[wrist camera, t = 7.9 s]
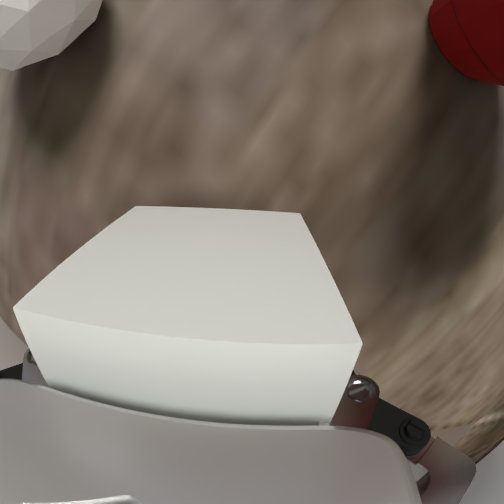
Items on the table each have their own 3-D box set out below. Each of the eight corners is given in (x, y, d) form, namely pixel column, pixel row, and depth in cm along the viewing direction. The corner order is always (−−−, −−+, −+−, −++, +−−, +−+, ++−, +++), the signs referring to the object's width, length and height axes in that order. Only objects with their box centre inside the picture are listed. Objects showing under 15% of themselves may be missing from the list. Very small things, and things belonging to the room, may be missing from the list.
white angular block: (300, 213, 13) (362, 343, 5) (282, 344, 16) (296, 487, 8) (135, 206, 13) (12, 307, 5) (151, 334, 16) (100, 462, 8)
